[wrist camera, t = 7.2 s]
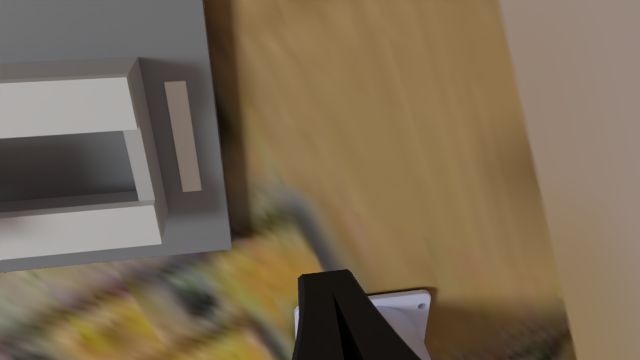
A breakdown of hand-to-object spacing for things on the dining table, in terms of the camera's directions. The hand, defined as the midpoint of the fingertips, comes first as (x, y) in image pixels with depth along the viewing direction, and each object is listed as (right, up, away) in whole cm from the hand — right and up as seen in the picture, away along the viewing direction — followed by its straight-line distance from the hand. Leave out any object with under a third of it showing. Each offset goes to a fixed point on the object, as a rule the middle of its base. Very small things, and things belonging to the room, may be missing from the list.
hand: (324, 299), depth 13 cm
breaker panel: (-12, +5, +7) cm, 15 cm away
